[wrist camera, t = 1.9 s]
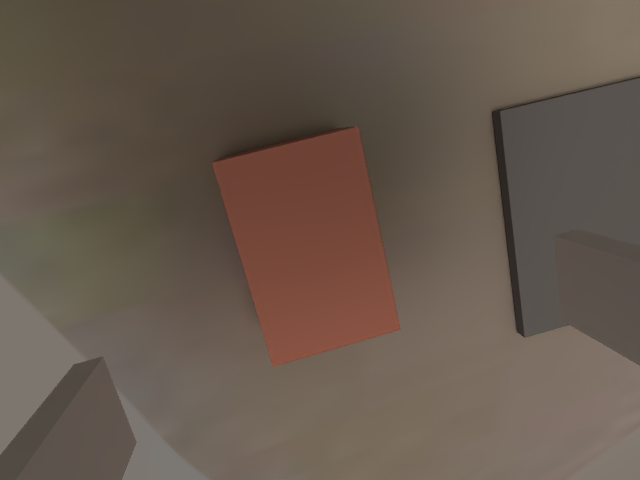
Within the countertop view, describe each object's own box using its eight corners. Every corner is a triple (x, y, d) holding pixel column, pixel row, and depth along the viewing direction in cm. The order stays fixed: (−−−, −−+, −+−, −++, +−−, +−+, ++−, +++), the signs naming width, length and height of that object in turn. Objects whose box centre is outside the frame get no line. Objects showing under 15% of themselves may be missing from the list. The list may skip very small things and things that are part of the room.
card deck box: (220, 157, 23) (211, 163, 18) (337, 128, 24) (358, 126, 19) (269, 323, 26) (273, 366, 21) (373, 294, 26) (400, 329, 22)
